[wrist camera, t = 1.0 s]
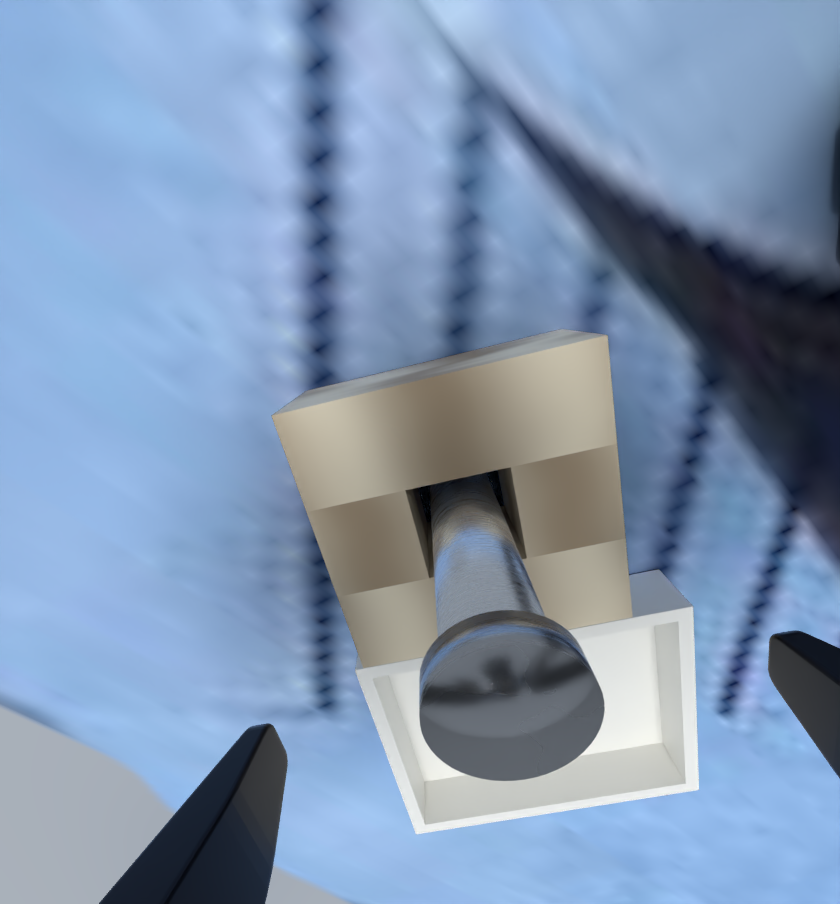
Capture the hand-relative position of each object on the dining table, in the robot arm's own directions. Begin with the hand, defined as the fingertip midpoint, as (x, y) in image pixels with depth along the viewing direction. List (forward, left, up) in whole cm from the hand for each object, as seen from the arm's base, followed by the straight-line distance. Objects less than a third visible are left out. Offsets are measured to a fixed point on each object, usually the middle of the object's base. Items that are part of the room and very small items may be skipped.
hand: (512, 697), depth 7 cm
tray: (-1, +12, -11) cm, 16 cm away
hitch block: (0, 0, -11) cm, 11 cm away
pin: (0, 0, -11) cm, 11 cm away
